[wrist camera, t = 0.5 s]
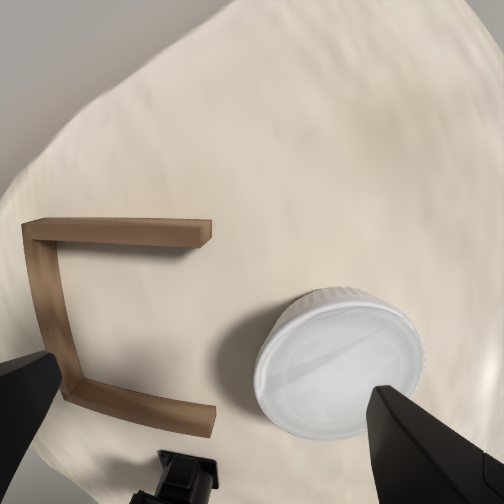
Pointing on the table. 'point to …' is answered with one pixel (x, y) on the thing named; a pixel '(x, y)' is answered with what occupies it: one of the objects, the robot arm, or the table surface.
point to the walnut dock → (57, 325)
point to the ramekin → (335, 362)
